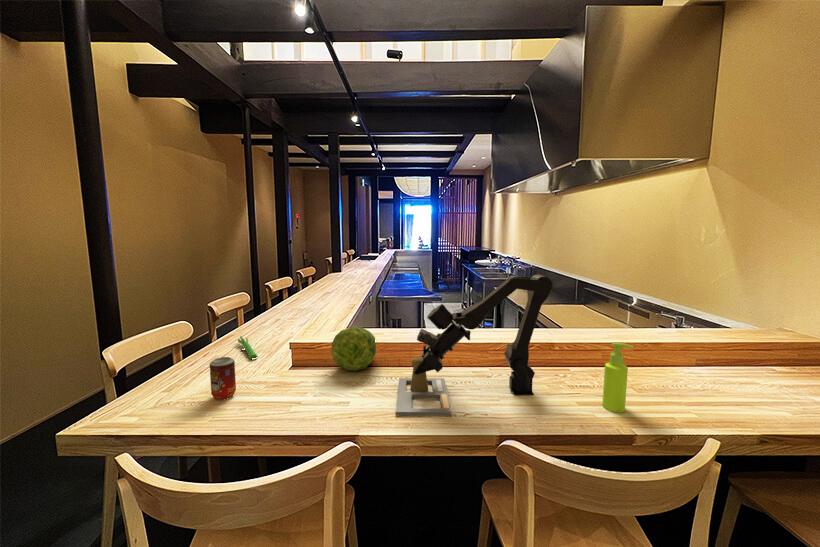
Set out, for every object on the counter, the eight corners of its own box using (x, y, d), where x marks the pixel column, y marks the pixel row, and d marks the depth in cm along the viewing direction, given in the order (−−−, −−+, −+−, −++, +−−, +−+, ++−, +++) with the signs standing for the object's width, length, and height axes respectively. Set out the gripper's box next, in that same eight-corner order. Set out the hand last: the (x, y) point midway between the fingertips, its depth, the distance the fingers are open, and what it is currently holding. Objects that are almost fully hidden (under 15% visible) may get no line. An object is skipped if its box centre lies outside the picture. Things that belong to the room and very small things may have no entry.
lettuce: (367, 370, 151) (392, 342, 150) (350, 383, 128) (380, 350, 127) (340, 343, 154) (365, 316, 153) (319, 351, 130) (348, 319, 130)
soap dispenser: (629, 415, 101) (633, 348, 99) (601, 409, 105) (605, 344, 102) (629, 406, 106) (633, 342, 104) (603, 401, 110) (606, 339, 107)
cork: (407, 391, 116) (407, 359, 115) (414, 384, 122) (414, 353, 121) (424, 394, 114) (424, 362, 113) (430, 387, 120) (430, 356, 118)
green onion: (259, 361, 147) (245, 340, 171) (258, 353, 147) (245, 333, 171) (246, 363, 144) (234, 341, 169) (246, 356, 144) (234, 335, 168)
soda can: (206, 400, 109) (204, 363, 108) (220, 391, 116) (219, 355, 115) (227, 402, 109) (225, 364, 107) (240, 392, 116) (239, 356, 114)
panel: (444, 381, 124) (444, 377, 124) (451, 416, 100) (451, 411, 100) (399, 381, 124) (399, 377, 124) (395, 415, 101) (395, 410, 100)
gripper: (431, 315, 124) (400, 345, 126) (431, 329, 106) (395, 363, 108) (452, 337, 125) (421, 366, 127) (457, 355, 106) (421, 388, 108)
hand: (415, 370), depth 117 cm, fingers closed on cork, 5 cm apart
